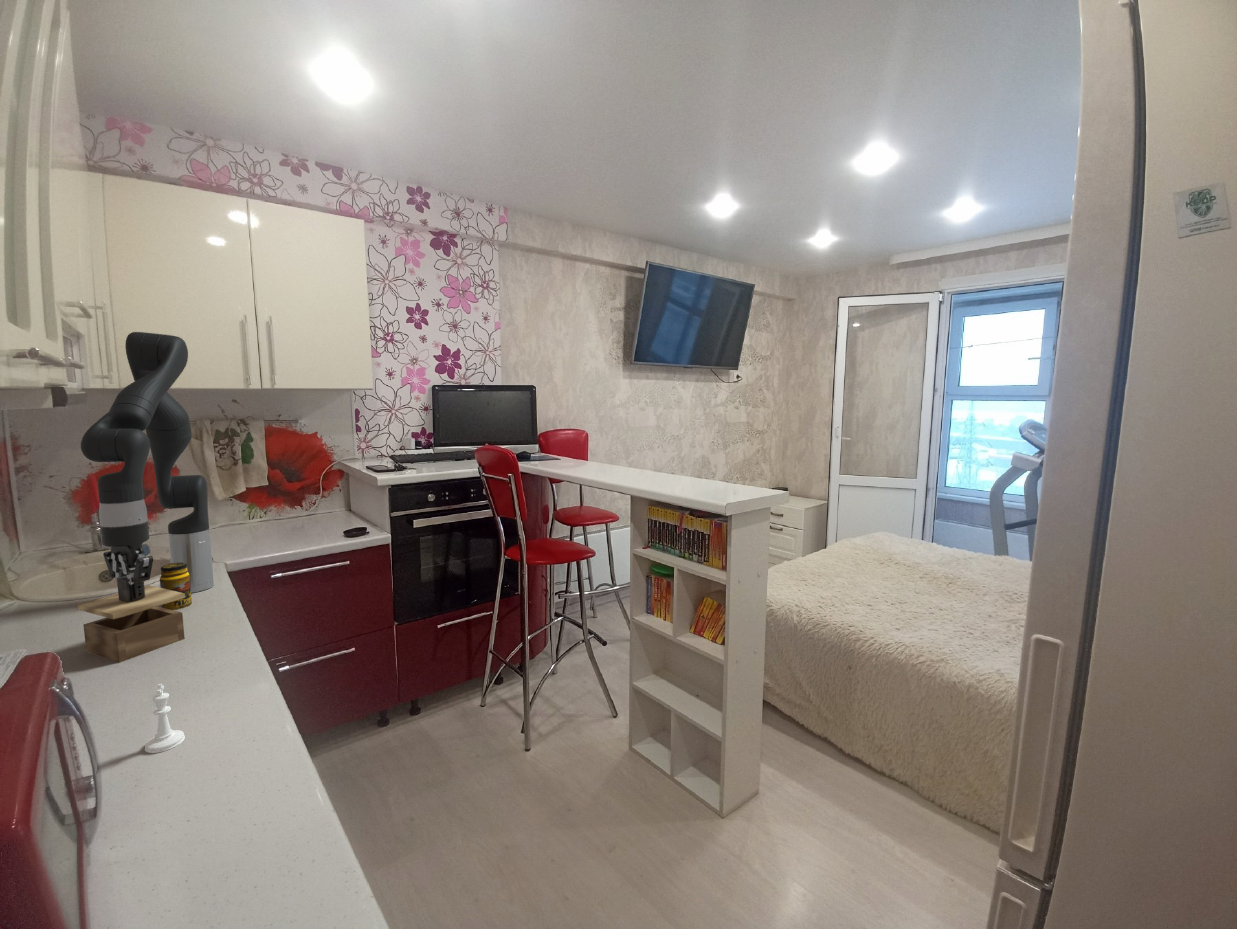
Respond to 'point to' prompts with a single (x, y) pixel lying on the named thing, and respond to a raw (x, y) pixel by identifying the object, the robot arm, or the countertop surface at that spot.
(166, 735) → the chess piece
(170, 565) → the condiment
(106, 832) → the countertop surface
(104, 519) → the robot arm
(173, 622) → the box
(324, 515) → the countertop surface
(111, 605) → the lid
